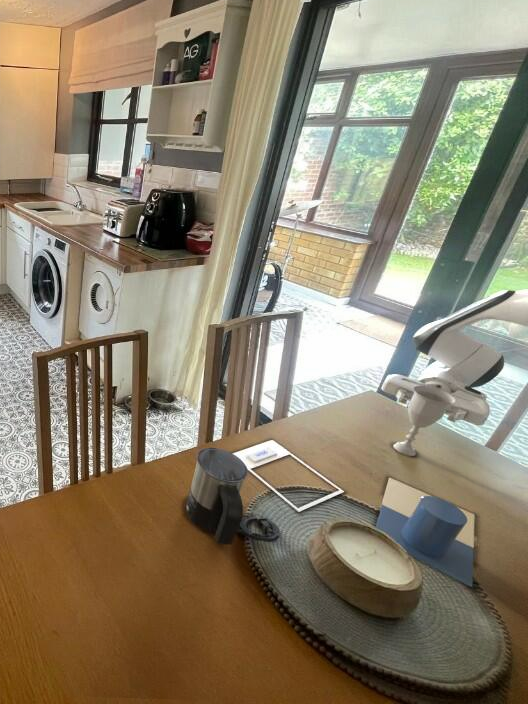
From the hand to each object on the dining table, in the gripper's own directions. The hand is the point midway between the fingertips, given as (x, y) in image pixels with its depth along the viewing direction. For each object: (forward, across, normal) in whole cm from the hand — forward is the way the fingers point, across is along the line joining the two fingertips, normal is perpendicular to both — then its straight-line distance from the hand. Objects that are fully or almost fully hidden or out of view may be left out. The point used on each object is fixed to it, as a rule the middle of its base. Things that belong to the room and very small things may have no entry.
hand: (426, 409), depth 104 cm
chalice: (+8, 0, +10) cm, 13 cm away
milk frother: (+63, -18, +10) cm, 67 cm away
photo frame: (+40, -16, +10) cm, 44 cm away
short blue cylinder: (+38, +8, +9) cm, 40 cm away
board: (+33, +8, +10) cm, 35 cm away
